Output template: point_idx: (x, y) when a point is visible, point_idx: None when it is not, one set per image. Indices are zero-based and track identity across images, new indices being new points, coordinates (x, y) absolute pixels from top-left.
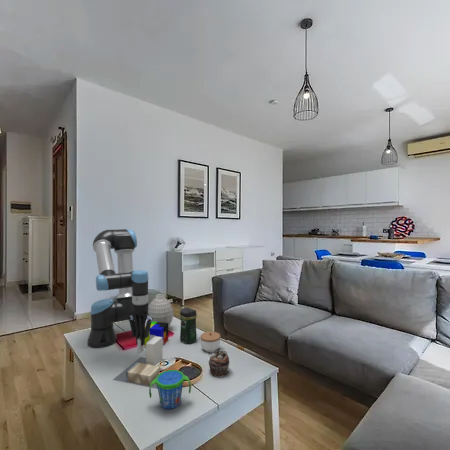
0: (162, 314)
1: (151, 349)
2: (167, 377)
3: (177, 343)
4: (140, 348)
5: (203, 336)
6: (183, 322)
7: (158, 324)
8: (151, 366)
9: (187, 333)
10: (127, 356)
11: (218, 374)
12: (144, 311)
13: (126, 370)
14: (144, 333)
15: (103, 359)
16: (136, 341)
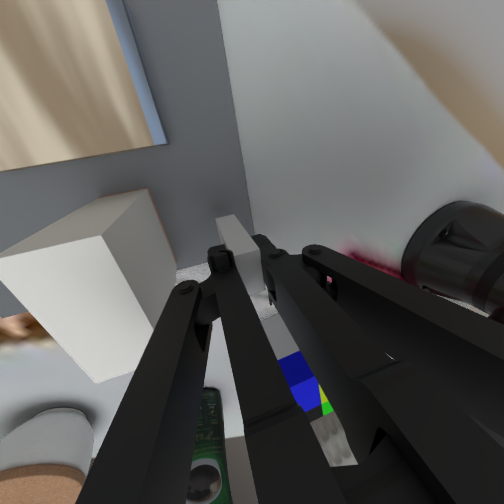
0: (332, 459)
1: (57, 230)
2: None
3: (209, 374)
4: (219, 229)
5: (36, 487)
6: (196, 493)
7: (306, 411)
8: (18, 146)
9: None
10: (308, 225)
11: None
12: None
13: (223, 122)
14: (187, 317)
15: (380, 158)
16: (268, 243)
